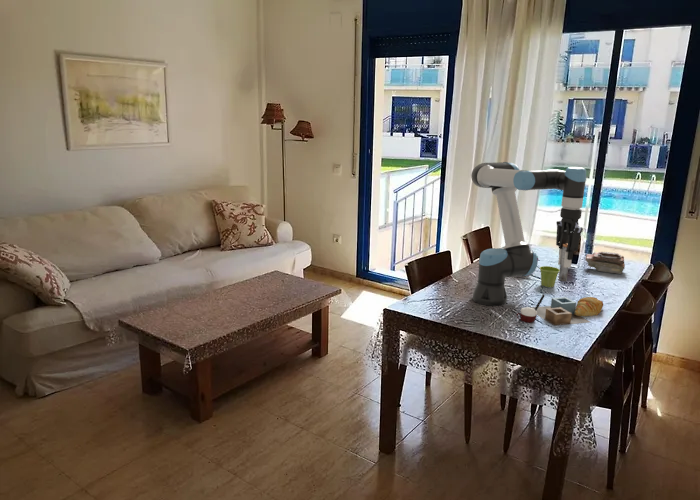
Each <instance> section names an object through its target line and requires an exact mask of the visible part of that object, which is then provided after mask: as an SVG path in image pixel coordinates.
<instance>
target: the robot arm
mask: <svg viewBox="0 0 700 500" xmlns="http://www.w3.org/2000/svg"><path fill="white" fill-rule="evenodd" d="M470 176H471V181H472V184H474V185H475V186H477V187H478V188H483V189H485V188H486V189H491V193H492V194H493V195H494V196H495V197H496V202H497V207H498V212H499V217H500V222H501V228H502V233H503V234H502V235H503V238H504V239H503V240H504V243H505V245H504V247H503V248H499V247H498V248H487V249H485V250H483V251H481V253H480V256H479V260H478V275H477V283H476V286H475V288H474V291H473V293H472V300H473V301H474V302H475V303H477V304H479V305H483V306H489V307H499V306H504V305H506V304H507V302H508V295H507V291H506V287H505V283H506V278H515V277H517V278H518V277H526V276H531V275H533V274H534V273H535V271H536V268H537V267H538V263H539V262H538V261H539V258H538V259H537V256H538V255H537V252H536V251H535V250H533V249H531V248H530V244H529V243H527V242H526V241H525V235H524V232H523V227H522V222H521V221H522V219H521V216H520V210H519V205H518V201H517V200H518V199H517V195H516V192H517V190H519V191H535V190H537V191H538V190H559V191H562V197H561V205H560V206H561V208H560V212H559V213H560V215H559V217H560V218H561V220H557V221H556V237H555V238H556V239H555V240H556V241H555V242H556V243H555V245H556V247H558V249H559V251H558V261H557V262H558V263H557V265H559V266H560V264H561V256H562V248H563V243H567V250H566V252H565V260H564V267H565V268H566V267H568V268H572V267H571V266H572V260H573V255H574V253H575V252H578V250H579V246H580V240H581V236H582V232H583V231H584V227H580V226H579V220H580V219H581V218H582V212H583V209H582V208H583V203H584V196H585V195H584V194H585V189H586V188H585V187H586V181H587V169H586V168H584V167H578V166H569V167H567V168H565V170H561V169H557V168H548V169H546V170H545V169H544V170H543V169H542V170H529V169H528V170H527V169H525V170H524V169H519V167H518V165H517V164H515V163H514V162H507V161H502V162H481V163H479V164H477V165H476V166H474V168H473V169H472V171H471V174H470ZM570 248H571V249H570Z"/></svg>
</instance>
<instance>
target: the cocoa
mask: <svg viewBox="0 0 700 500" xmlns="http://www.w3.org/2000/svg"><path fill="white" fill-rule="evenodd" d="M545 297H546V295H545V294H544V293H543V294H542V295H541V297H540V299H539V300H538V302H537V304H536V306H535V309H533V308H532V307H530V306H526V307H521V308H520V312H518V313H516V318H517V319H518V320H519V321H521V322H523V323H526V324H532V323H535V321H536V319H537V316H538V315H536V314H537V311H536V310H537V309H538V307H540V304H541V303H542V302H543V300H544V298H545ZM518 316H520V317H518Z"/></svg>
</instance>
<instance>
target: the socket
mask: <svg viewBox="0 0 700 500" xmlns="http://www.w3.org/2000/svg"><path fill="white" fill-rule="evenodd" d="M550 306H551V308H558V307H561V308H563V309H565V310H567V311H568V312H570V313H572V314H574V313H575V309H576V306H577V302H576V301H574V300H572V299H570V298H569V297H566V296H562V297H551V301H550Z"/></svg>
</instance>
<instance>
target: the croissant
mask: <svg viewBox="0 0 700 500" xmlns="http://www.w3.org/2000/svg"><path fill="white" fill-rule="evenodd" d="M603 307H604V302H603V300H600V299H598V298H597V297H593V296H585V297H581V298H580V299H578V301H577V302H576V309H575V313H574V314H575V315H576V316H581V317H593V316H598V315H600V313H601V311H603Z"/></svg>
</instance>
